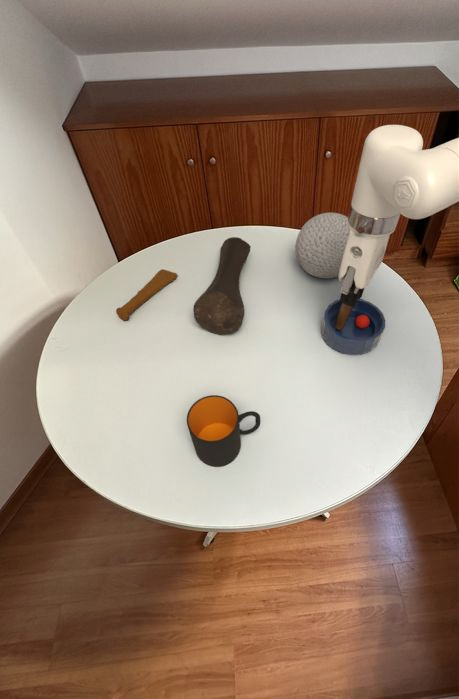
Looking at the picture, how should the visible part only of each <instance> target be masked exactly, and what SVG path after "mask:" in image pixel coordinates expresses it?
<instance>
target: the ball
mask: <svg viewBox="0 0 459 699" xmlns="http://www.w3.org/2000/svg"><path fill="white" fill-rule="evenodd" d="M355 324H356V326H357V327H358V328H360V329H365V328H367V327H368V326H369V324H370V320H369V318H368V317H367V316H366V315H360V316H358V317H357V318H356V320H355Z"/></svg>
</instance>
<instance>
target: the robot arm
mask: <svg viewBox="0 0 459 699" xmlns="http://www.w3.org/2000/svg"><path fill="white" fill-rule="evenodd" d="M423 147H424V139H423V137H422V134H421V133H420V132H419V131H418V130H416V129H415V128H413V127H410V126H407V125H403V124H385V125H382V126H378V127H376V128H374V129H373V130H371V131H370V133H368V135H367V136H366V138H365V140H364V144H363V148H362V152H361V156H360V162H359V165H358V171H357V175H356V179H355V183H354V189H353V193H352V198H351V203H350V208H349V212H348V216H347V217H348V221H347V224H348V227H349V228H350V229H351V230H350V234H349V237H348V240H347V243H346V247H345V250H344V254H343V258H342V262H341V266H340V270H339V276H337V278H338V281H339V282H342V281H343V283H342V286H341V289H340V291H339V292H340V296H339V299H340V303H343V304H345V305H348V306H350V307H353V308H354V307H355V306H356V304H357V300H358V299H362V297H363V294H364V291H365V289H366V287H367V286H368V284H369V283H370V281H371V280H372V279H373V277H374V275H375V274H376V273H377V271H378V269H379V268H380V266H381V265H382V262H383V261H384V257H385V254H386V251H387V248H388V243H389V239H390V235H391V234H393V233H394V232H395V231H396V228H397V225H398V222H399V219H400V217H401V215H402V216H403V217H405V218H407V219H410V220H422V219H426V218H428V217H430V216H433V215H434V214H436V213H439V212H441V211H443V210H445V209H447V208H449V207H450V206H453V205H454V204H456V203H458V202H459V137H457V138H454V139H451V140H449V141H446V142H445V143H442V144H439V145H437V146H435V147H432V148H428V149H423ZM352 283H355V285H356V286H354V285H352Z"/></svg>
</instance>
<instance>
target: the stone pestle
mask: <svg viewBox="0 0 459 699" xmlns="http://www.w3.org/2000/svg"><path fill="white" fill-rule="evenodd" d="M250 253H251V245H250V244H249V243H248V242H247V241H246V240H244V239H243V238H241V237H237V236H232V237H228V238H226V239H225V240H224V241H223V243H222V245H221V247H220V251H219V262H218V267H217V270H216V273H215V276H214V278H213V280H212V282H211V283H210V284H209V286H208V287H207V289H205V291H204V292H203V293H202V294H201V295H200V296H199V297H198V298H197V300H196V301H194V304H193V317H194V320H195V323H196V324H198V326H200V327H201V328H202V329H204V330H207V331H208V332H211V333H213V334H217V335H232V334H235V333H236V332H238V331H239V330H240V328H241V326H242V324H243V322H244V317H245V305H244V301H243V298H242V295H241V290H240V278H241V272H242V270H243V267H244V264H245V263H246V261H247V259H248V256H249V254H250Z"/></svg>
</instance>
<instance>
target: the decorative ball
mask: <svg viewBox="0 0 459 699" xmlns="http://www.w3.org/2000/svg"><path fill="white" fill-rule="evenodd" d="M347 221H348V216H346V215H344V214H342V213H338V212H323V213H320V214H317V215H314V216H313V217H311V218H310V219H308V220H307V221H306V222H305V223H304V225H303V226H302V227H301V229H300V230H299V232H298V234H297V238H296V241H295V255H296V258H297V262H298V263H299V265H300V266H301V267H302V269H303V270H304V271H305V272H307V273H308V274H309V275H311V276H313V277H315V278H320V279H333V278H338V277H339V270H340V266H341V262H342V258H343V254H344V250H345V247H346V243H347V240H348V237H349V234H350V230H351V229H350V228H349V227H348V224H347Z"/></svg>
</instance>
